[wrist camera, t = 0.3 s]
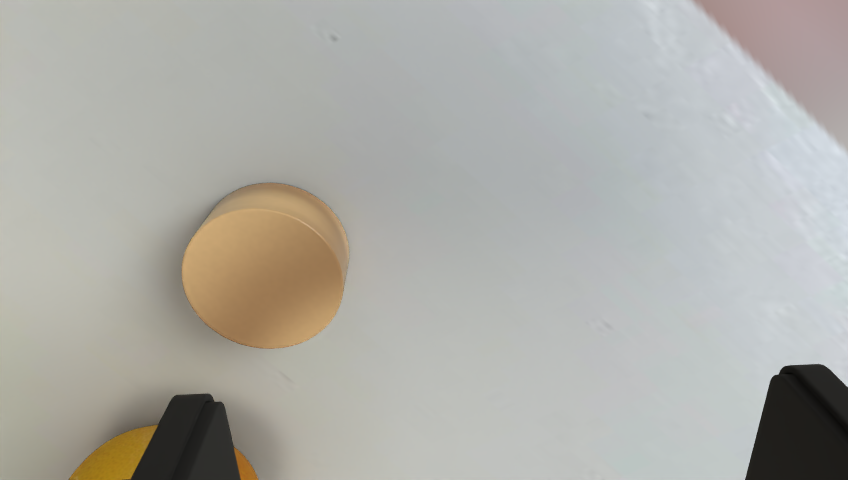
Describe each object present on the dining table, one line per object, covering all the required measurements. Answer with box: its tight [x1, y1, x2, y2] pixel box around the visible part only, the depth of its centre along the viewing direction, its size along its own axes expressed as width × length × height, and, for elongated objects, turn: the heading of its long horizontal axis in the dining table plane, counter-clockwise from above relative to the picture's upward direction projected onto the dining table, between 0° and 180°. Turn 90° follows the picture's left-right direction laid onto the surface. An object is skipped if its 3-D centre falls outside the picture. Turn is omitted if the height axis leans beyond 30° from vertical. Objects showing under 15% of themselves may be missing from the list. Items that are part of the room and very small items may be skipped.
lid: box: [182, 183, 349, 349], centre depth 22 cm, size 6×6×2 cm
